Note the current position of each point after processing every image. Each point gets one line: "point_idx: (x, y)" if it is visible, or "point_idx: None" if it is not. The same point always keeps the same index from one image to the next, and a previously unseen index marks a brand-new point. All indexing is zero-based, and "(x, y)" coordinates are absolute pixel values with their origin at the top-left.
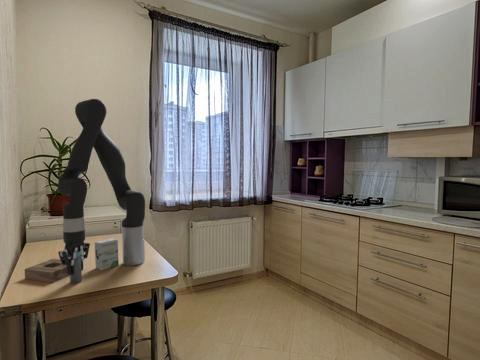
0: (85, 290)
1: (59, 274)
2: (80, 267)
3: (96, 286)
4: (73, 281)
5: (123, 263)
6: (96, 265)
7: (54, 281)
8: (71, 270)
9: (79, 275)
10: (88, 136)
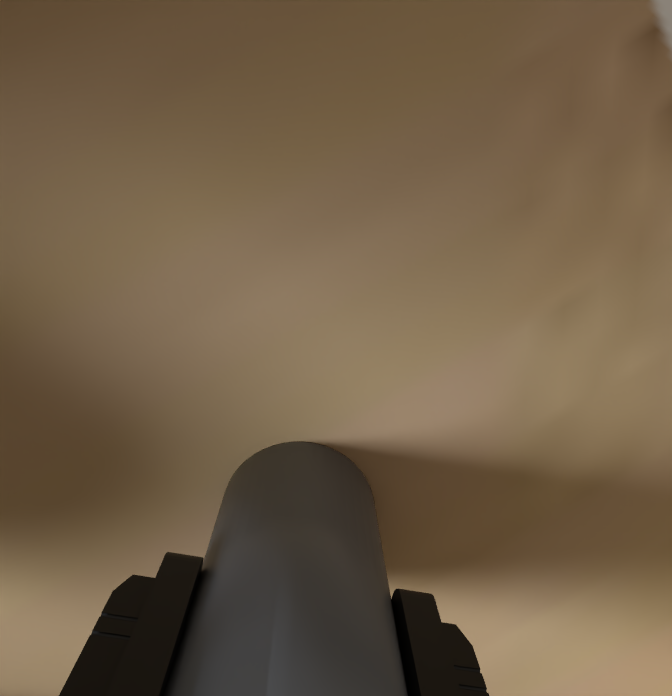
0: (617, 191)
1: None
2: (279, 596)
3: (459, 91)
4: (377, 522)
5: None
6: None
7: None
8: (455, 675)
9: (322, 503)
10: None
